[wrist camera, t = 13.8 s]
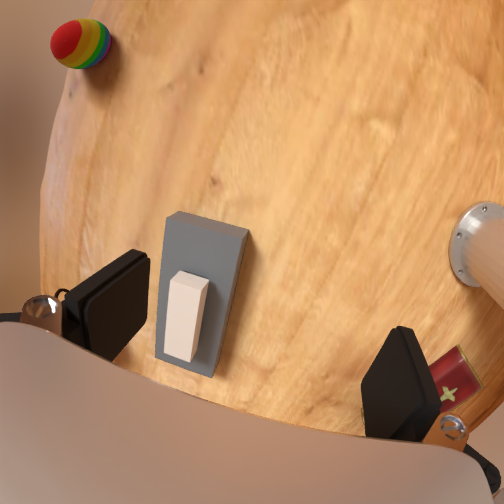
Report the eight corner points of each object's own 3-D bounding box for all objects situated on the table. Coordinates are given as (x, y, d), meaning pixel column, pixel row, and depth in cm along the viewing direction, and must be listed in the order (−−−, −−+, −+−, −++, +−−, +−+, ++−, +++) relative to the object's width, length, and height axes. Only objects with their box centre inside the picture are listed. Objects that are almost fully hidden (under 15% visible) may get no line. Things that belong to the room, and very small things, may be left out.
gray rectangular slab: (179, 210, 40) (166, 217, 37) (248, 229, 39) (242, 238, 36) (164, 343, 49) (155, 357, 46) (218, 362, 48) (211, 378, 45)
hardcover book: (360, 406, 47) (362, 423, 43) (456, 341, 39) (465, 356, 35) (391, 430, 48) (393, 445, 45) (477, 374, 41) (484, 388, 37)
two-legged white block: (194, 256, 42) (170, 280, 35) (220, 264, 42) (201, 290, 34) (184, 323, 47) (163, 352, 39) (207, 331, 46) (189, 362, 39)
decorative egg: (72, 57, 35) (30, 49, 25) (102, 18, 32) (62, 2, 22) (94, 80, 36) (49, 74, 26) (126, 39, 33) (85, 23, 23)
